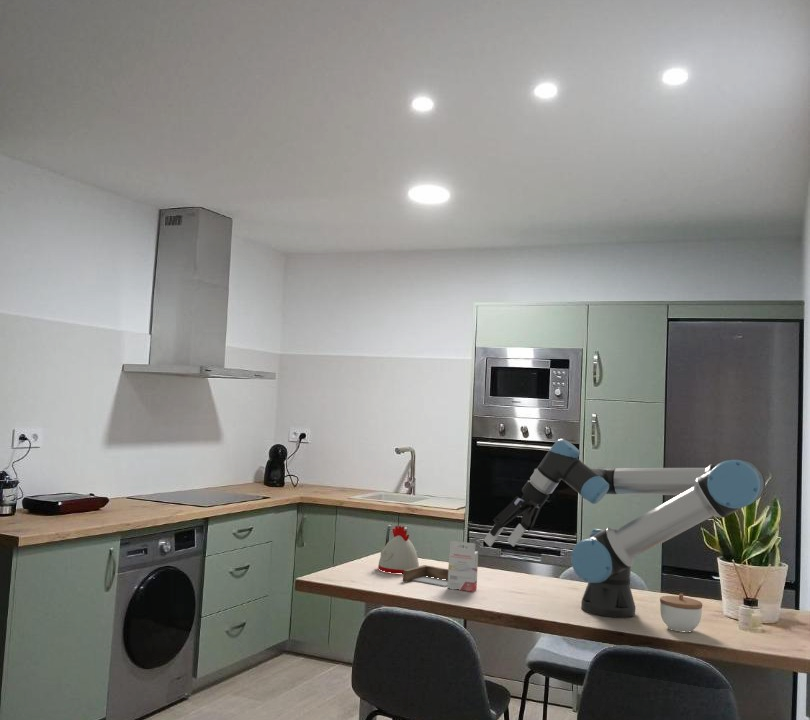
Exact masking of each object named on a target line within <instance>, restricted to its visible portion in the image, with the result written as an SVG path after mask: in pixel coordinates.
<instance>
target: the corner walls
mask: <svg viewBox="0 0 810 720" xmlns="http://www.w3.org/2000/svg"><path fill="white" fill-rule="evenodd" d="M423 576H428V577H434V578H439V579H446V580H448V568H444V567H439V566H433V565H426V564H423V565H419V567H415V568H411V569H407V570H403V575H402V582H403V583H410V582H413V581H412V579H416V578H420V577H423ZM409 581H410V582H409Z"/></svg>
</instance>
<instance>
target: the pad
mask: <svg viewBox="0 0 810 720" xmlns="http://www.w3.org/2000/svg"><path fill="white" fill-rule="evenodd" d="M412 580H413V581H412V582H416V581H417V582H416V583H421V582H423V583H422V584H427V583H429V584H428V585H432V584H435V585H434V586H437V585H440V586H439V587H443V586H447V585H448V580H442V579H437V578H431V577H426V576H423V577H420V578H416V579H412Z"/></svg>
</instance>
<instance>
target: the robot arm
mask: <svg viewBox="0 0 810 720" xmlns="http://www.w3.org/2000/svg"><path fill="white" fill-rule="evenodd" d="M580 454H581V452H580V449H578V448H577V447H576V446H575V444H572V443H571V442H570V441H568V440H566V439H563V438H560V439H557V440H556V441H555V443H554V444H553V445H552V446H551V447H550V448H549V450H548V451H547V453H546V454H545V456H544V457H543V458H542V460H541V461H540V463H539V465H538V466H537V467H536V468H534V470H533V473H532V474H531V476H530V477H529V479H528V480H527V481H526V483H525V484H524V486H523V487H522V488H521V492H522V493H523V495H522V497H519V496H517V495H516V496H515V497H514V498H513V500H512V501H511V502H510V503H509V504H508V505H507V506H505V508H504V509H503V510H502V511H500V512H499V513H498V515H496V516H495V517H494V518H493V519H492V521H493V523H494V524H493V526H492V528H491V529H490V530H489V532H488V533H487V534H486V536H485V537H484V539H483V541H484V542H485V543H486V545H487V546H488V547H490V548H491V547H492V546H493V544H494V543H495V542H496V541H497V539H498V537H499V536H500V535H501V533H502V532H503V531H504V527H505V526H507V525H508V524H509V523H510V522H512V521H513V520H514V519H515V518H517V517H518V516H519V517H521V516H522V518H521V522H520V523H518V524H517V525H516V527H515V528H514V530H513V531H512V532H511V534H510V535H509V537H508V538H507V540H506V541H507V542H508V543H509V545H511V546H512V547H513V548H514V547H515V546H516V544H517V543H519V540H520V539H521V537H522V536H523V535H524V534H525V532H526V531H528V532H530V531H531V530H532V528H533V527H534V525H535V523H536V520H537V517H538V515H539V513H540V511H541V508H542V507H543V505H544V504H545V503H546V502H547V500H548V499H549V497H550V494H553V492H554V491H555V489H556V488H557V487H558V485H559V483H560V482H561V480H562V481H563V482H564V483H566V485H568V486H569V487H570V488H572V490H574V491H575V492H577V494H579V495H580V496H581V497H582V498H583V499H585V500H586V501H588V502H589V503H591V504H593V505H595V504H598V503H599V502H600V501H602V499H604V497H605V496H606V495H641V496H642V495H644V496H645V495H652V496H654V495H655V496H657V495H658V496H661V495H662V496H673V497H672V498H670V499H669V500H667V501H665V502H663V503H661V504H660V505H657V506H656V507H655V508H652V509H650V510H649V511H647V512H645V513H644V514H641V515H640V516H638V517H636V518H635V519H632V520H631V521H629V522H627V523H625V524H624V525H621V526H620V527H618V528H614V527H611V526H609V527H606V528H604V529H600V528H593V529H592V530H591V531H590V535H589V537H587V538H583V539H580V541H578V542H577V543H576V544H575V545H574V547H573V549H572V550H571V555H570V563H571V566H572V569H573V571H574V572H575V574H576V575H577V576H578V577H579V579H582V580H583V581H585V582H587V585H586V588H585V590H584V593H583V595H582V598H581V602H580V603H581V606H580V608H581V610H583V611H584V612H587V613H589V614H593V615H595V616H596V615H598V616H602V617H609V618H622V617H623V618H632V617H634V615H635V616H636V605H635V600H634V597H633V593H632V589H631V571H632V570H631V569H632V566H633V564H634V559H635V558H636V557H638V556H640V555H642V554H644V553H646V552H648V551H650V550H651V549H654V548H655V547H658V546H659V545H661V544H663V543H665V542H667V541H668V540H670V539H672V538H675V537H676V536H678V535H680V534H682V533H684V532H686V531H687V530H689V529H691V528H693V527H695V526H696V525H699V524H700V523H702V522H704V521H706V520H708V519H710V518H712V517H717V518H720V519H724V518H725V517H727V516H729V515H731V514H733V513H735V512H737V511H739V510H740V509H743V508H745V507H748V506H749V505H751V504H753V503H755V502H756V501H758V500H759V499H761V497H762V496H763V495H764V492H765V490H766V477H765V475H764V473H763V472H762V470H761V469H760V468H759V467H758V466H757V465H756V464H755V463H752V462H751V461H747V460H743V459H742V460H740V459H728V460H724V461H721V462H719V463H710V464H709V465H708V466H707V467H643V468H642V467H637V468H636V467H618V468H617V467H616V468H612V467H610V468H609V467H608V468H607V467H597V468H590V467H589V466H588V465H586V464H585V463H584V462H582V461H581V459H579V456H580ZM631 616H632V617H631ZM623 618H622V619H623Z"/></svg>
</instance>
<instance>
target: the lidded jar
mask: <svg viewBox="0 0 810 720" xmlns="http://www.w3.org/2000/svg"><path fill="white" fill-rule="evenodd" d="M659 606H660V607H659V610H660V616H661V618H662V621H663V623H664V624H665V625H666V626H667V629H668V628H669V629H668V630H670V629H672V630H675V631H674V632H676V631H685V632H689V631H692V632H693V630H695V629H696V628H697V627H698V626H699V624H700V622H701V618H702V614H703V613H702V611H703V609H702V608H703V602H701V601H699V600H697V599H696V598H695V599H694V598H690V597H685V596H684V594H683V593H679V594H678V596H677V595H663V596H660V597H659ZM672 630H671V631H672Z"/></svg>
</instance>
